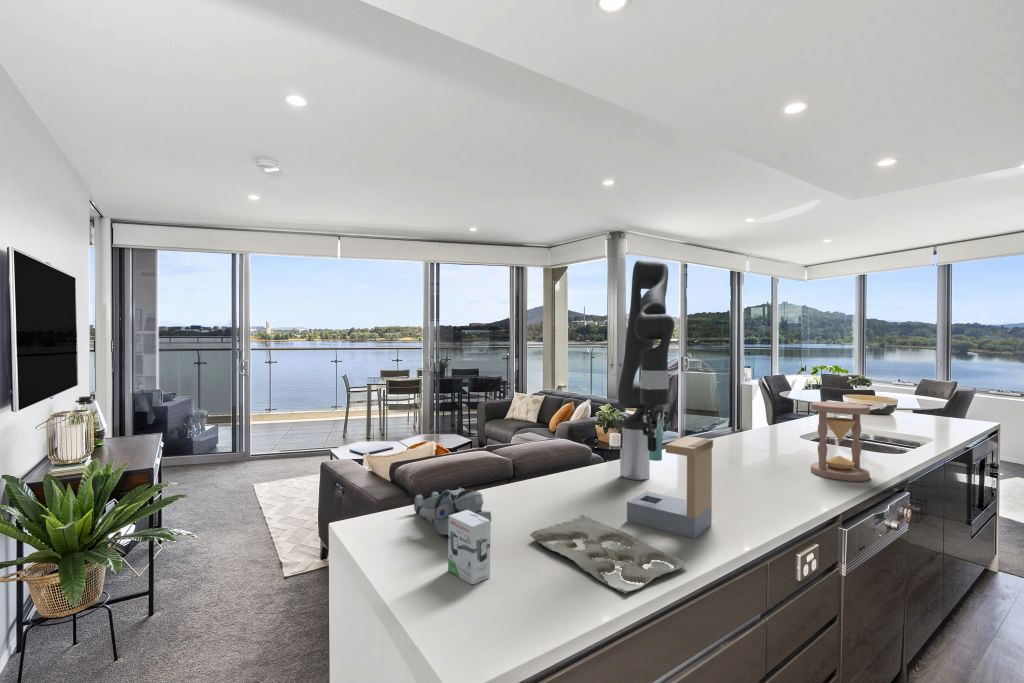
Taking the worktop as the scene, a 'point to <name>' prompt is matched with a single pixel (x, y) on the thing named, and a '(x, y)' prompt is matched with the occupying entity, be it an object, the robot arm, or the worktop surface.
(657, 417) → the robot arm
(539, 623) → the worktop surface
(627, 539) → the stone relief
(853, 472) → the hourglass
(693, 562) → the worktop surface
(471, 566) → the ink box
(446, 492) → the toy
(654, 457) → the peg
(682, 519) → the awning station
